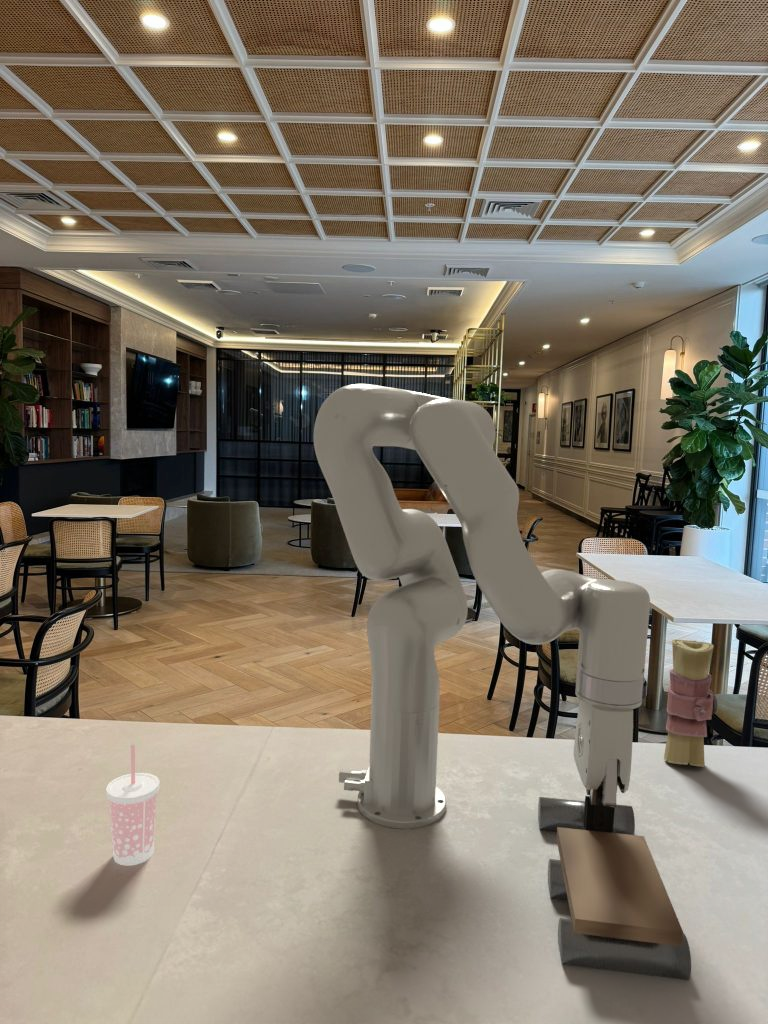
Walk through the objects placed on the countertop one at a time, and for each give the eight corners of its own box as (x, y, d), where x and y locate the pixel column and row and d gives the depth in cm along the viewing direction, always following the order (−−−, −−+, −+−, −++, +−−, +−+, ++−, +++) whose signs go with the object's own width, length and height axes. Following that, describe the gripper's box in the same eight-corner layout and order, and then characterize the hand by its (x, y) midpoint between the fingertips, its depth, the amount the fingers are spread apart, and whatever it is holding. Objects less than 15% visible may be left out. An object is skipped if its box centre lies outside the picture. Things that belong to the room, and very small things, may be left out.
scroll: (718, 775, 109) (729, 653, 107) (668, 769, 111) (677, 649, 108) (705, 754, 116) (715, 639, 114) (659, 749, 118) (668, 635, 116)
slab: (574, 932, 67) (575, 918, 67) (556, 838, 83) (557, 827, 83) (681, 946, 66) (683, 931, 65) (642, 848, 81) (643, 836, 81)
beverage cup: (146, 834, 89) (145, 729, 87) (169, 855, 84) (168, 746, 83) (98, 853, 84) (96, 744, 83) (120, 876, 80) (118, 762, 78)
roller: (556, 926, 72) (559, 969, 69) (561, 911, 70) (564, 956, 67) (676, 940, 71) (684, 985, 68) (685, 926, 68) (693, 972, 65)
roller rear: (539, 835, 93) (541, 816, 91) (537, 808, 96) (540, 790, 94) (631, 844, 91) (636, 826, 89) (626, 817, 94) (631, 799, 92)
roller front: (550, 852, 80) (547, 869, 82) (552, 887, 77) (548, 904, 79) (658, 863, 78) (651, 880, 81) (664, 900, 75) (657, 917, 77)
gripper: (567, 662, 89) (557, 796, 91) (587, 707, 74) (575, 866, 76) (627, 667, 88) (616, 802, 90) (659, 713, 73) (645, 873, 76)
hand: (597, 831), depth 83 cm, fingers closed
